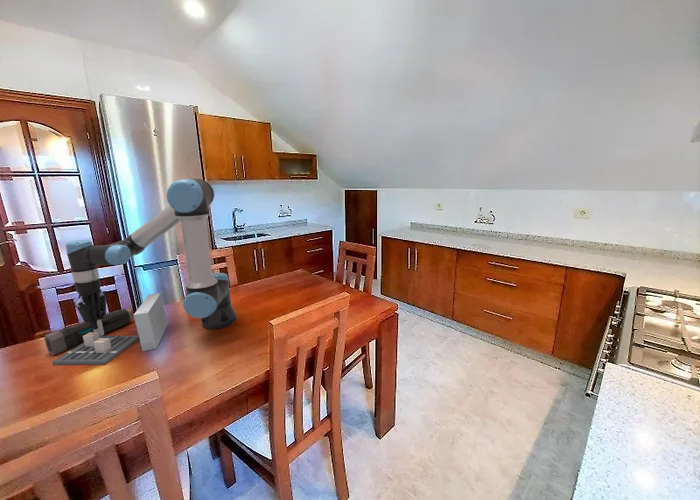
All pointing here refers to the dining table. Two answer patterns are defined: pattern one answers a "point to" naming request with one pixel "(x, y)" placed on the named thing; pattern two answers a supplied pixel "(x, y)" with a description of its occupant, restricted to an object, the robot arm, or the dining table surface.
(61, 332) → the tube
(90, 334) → the fader
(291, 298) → the dining table surface
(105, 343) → the fader
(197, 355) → the dining table surface
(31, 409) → the dining table surface
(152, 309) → the skincare box
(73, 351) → the console
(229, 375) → the dining table surface
